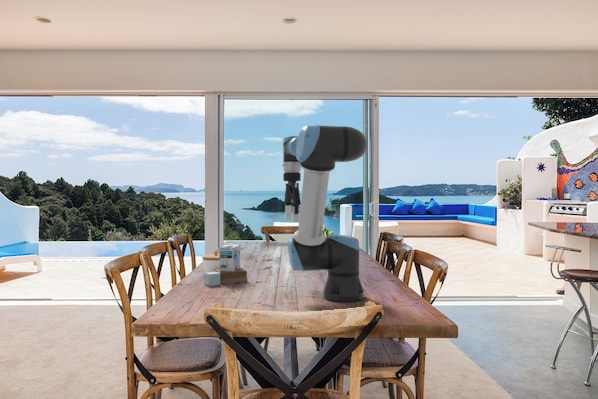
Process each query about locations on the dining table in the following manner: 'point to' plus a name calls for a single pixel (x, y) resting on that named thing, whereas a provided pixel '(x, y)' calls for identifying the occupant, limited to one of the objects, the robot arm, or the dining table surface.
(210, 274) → the slate cube
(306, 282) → the dining table surface
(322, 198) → the robot arm
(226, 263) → the light bulb box
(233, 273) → the walnut block
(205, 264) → the lidded bowl
